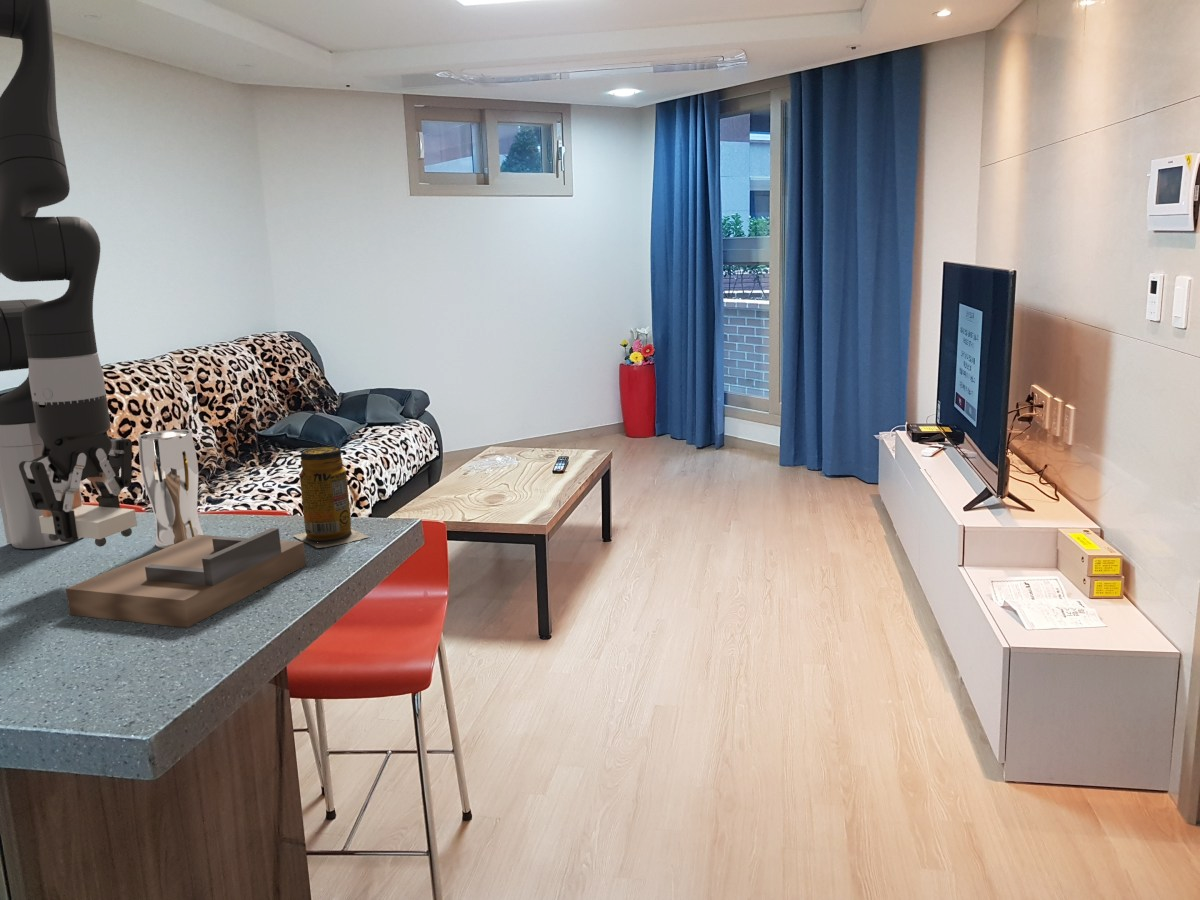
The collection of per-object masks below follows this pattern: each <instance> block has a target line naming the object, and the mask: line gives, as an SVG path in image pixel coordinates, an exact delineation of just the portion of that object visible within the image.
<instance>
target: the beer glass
mask: <svg viewBox="0 0 1200 900" xmlns="http://www.w3.org/2000/svg"><path fill="white" fill-rule="evenodd" d="M137 440H138V456H139V457H138V458H139V466H140V472H141V479H142V482H143V485H144V488H145V491H146V494H147V497H148V499H149V504H150V505H151V508H152V512H153V514H154V521H155V542H154V543H155V546H156V547H157V548H159V549H164V548H167V547H169V546H172V545H174V544H177V543H179V542H182V541H184V540H187V539H189V538H191V537H194V536H196V535H204V531H203V529H202V527H201V526H202V525H201V522H200V520H199V516H198V515H199V514H198V494H199V493H198V492H199V491H198V490H199V465H198V458H197V451H196V447H195V444H194V443H195V442H194V439H193V433H192V431H191V430H190V429H167V430H157V431H151V432H147V433H142V434H141V435H139V436H137Z"/></svg>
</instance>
